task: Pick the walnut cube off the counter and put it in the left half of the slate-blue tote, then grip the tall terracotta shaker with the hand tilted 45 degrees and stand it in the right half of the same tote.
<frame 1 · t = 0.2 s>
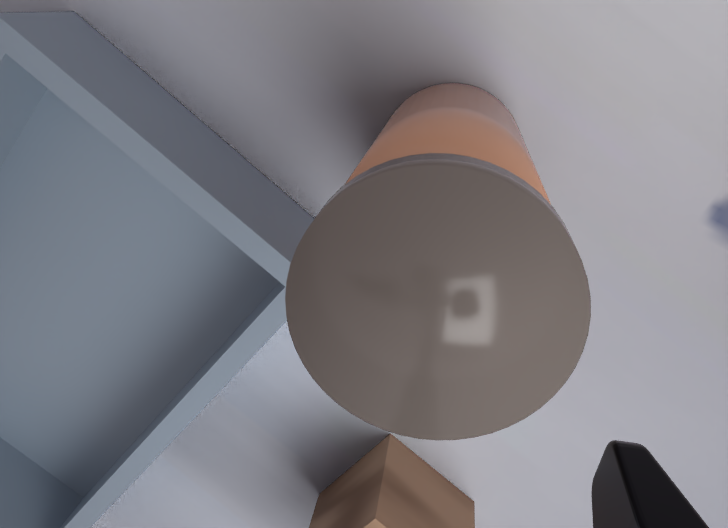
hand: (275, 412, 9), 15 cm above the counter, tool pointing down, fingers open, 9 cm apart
tote: (86, 301, 27), on the counter
shaker: (449, 156, 22), on the counter
cube: (395, 496, 29), on the counter
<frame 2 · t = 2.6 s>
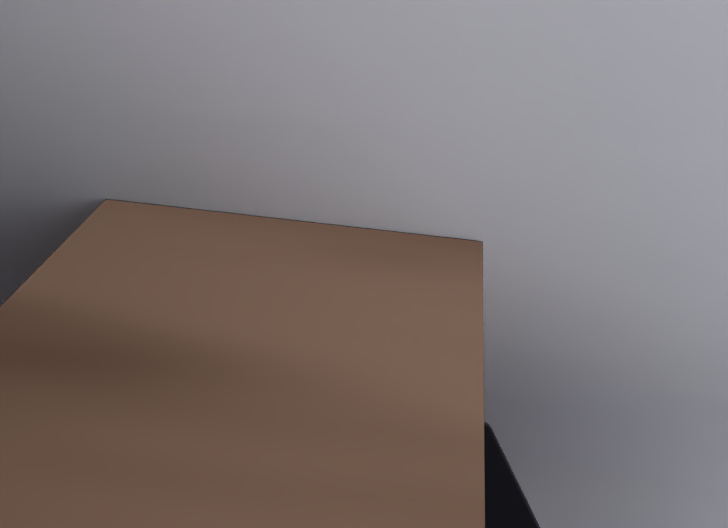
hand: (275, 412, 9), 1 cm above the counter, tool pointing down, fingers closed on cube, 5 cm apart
cube: (293, 359, 10), on the counter, touching gripper
when the fingers open (3 cm above the counter, at t = 7.1 s): cube stays where it is, resting on tote.
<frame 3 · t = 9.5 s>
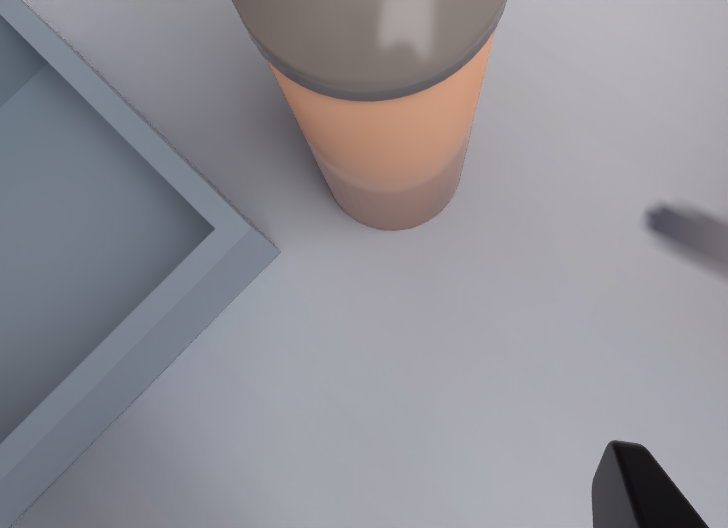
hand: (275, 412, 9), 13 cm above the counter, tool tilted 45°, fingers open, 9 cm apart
shaker: (393, 164, 23), on the counter
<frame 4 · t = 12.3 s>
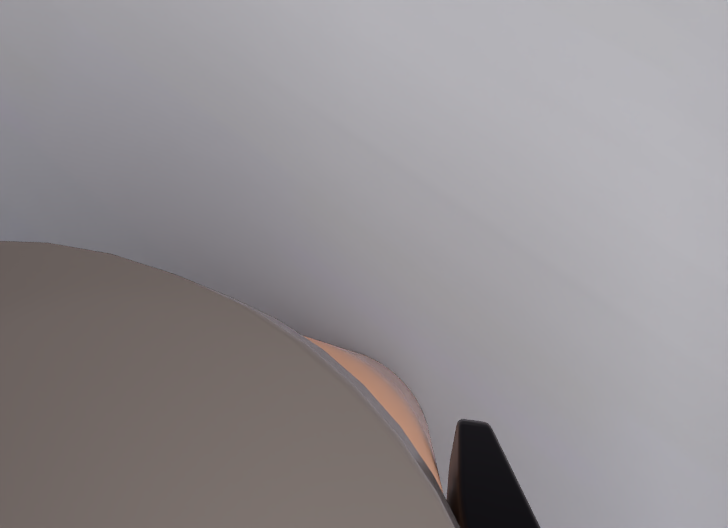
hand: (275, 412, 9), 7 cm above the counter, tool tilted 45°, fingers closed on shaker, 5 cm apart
shaker: (326, 453, 15), on the counter, touching gripper
when the fingers open (9 cm above the counter, at t = 15.8 s): shaker drops 1 cm, resting on tote.
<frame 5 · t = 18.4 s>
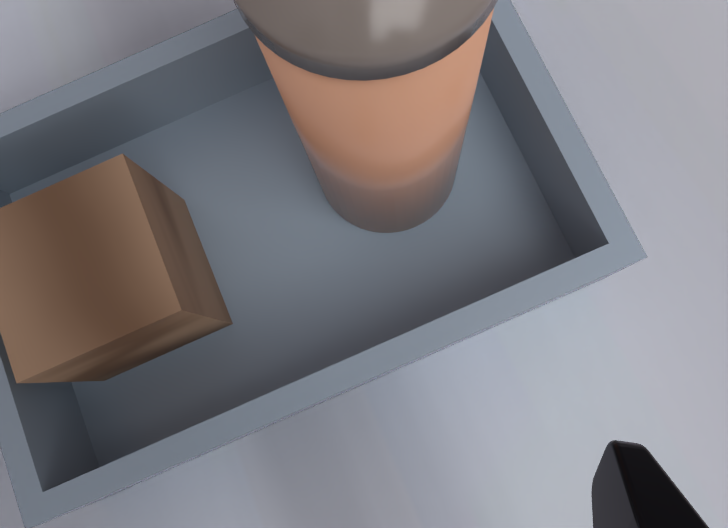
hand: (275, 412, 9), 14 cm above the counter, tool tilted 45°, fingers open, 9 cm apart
tote: (283, 231, 23), on the counter
shaker: (386, 165, 23), point 1 cm above the counter, touching tote
cube: (145, 288, 23), point 1 cm above the counter, touching tote
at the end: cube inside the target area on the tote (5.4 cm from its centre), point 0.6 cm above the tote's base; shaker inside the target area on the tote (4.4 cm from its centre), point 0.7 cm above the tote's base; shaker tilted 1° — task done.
